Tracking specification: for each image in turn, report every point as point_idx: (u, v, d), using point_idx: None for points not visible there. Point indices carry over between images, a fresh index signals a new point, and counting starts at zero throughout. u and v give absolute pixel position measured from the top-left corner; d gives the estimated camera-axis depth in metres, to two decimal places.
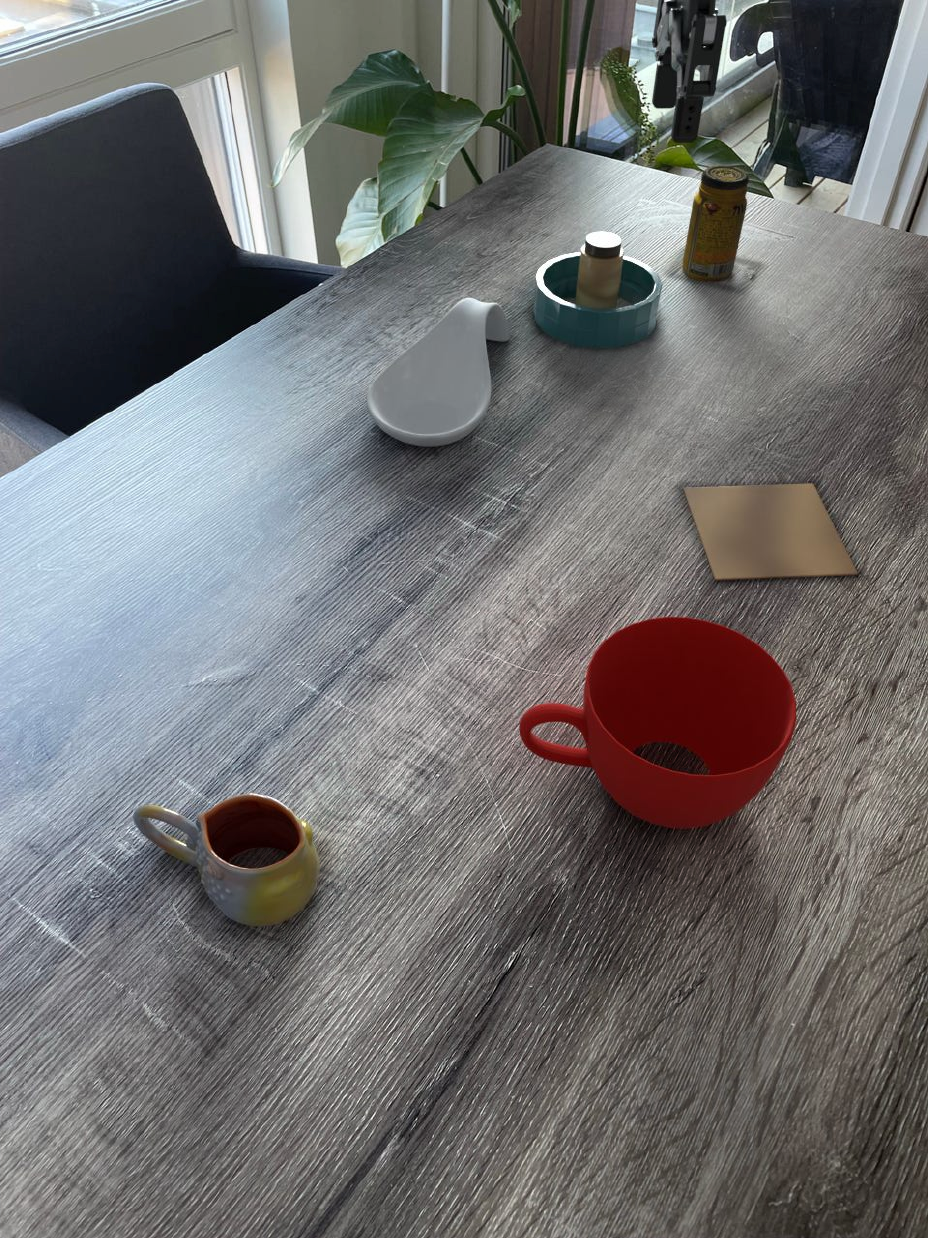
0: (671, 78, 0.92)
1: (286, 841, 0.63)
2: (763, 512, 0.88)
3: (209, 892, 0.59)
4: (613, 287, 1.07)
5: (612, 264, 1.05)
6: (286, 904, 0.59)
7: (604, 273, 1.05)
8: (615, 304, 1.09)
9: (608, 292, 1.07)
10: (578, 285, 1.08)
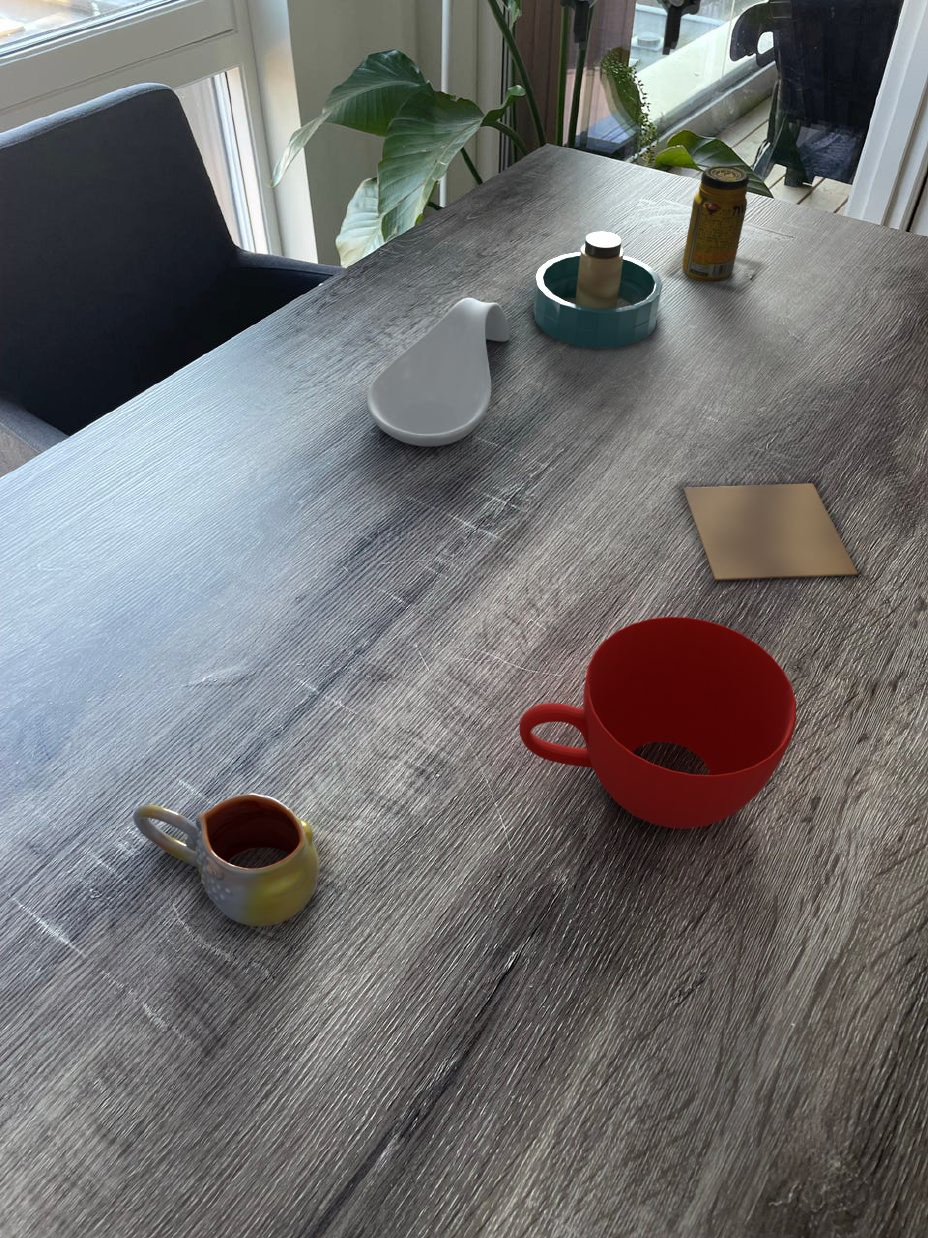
0: (666, 23, 1.01)
1: (286, 841, 0.63)
2: (763, 512, 0.88)
3: (209, 892, 0.59)
4: (613, 287, 1.07)
5: (612, 264, 1.05)
6: (286, 904, 0.59)
7: (604, 273, 1.05)
8: (615, 304, 1.09)
9: (608, 292, 1.07)
10: (578, 285, 1.08)
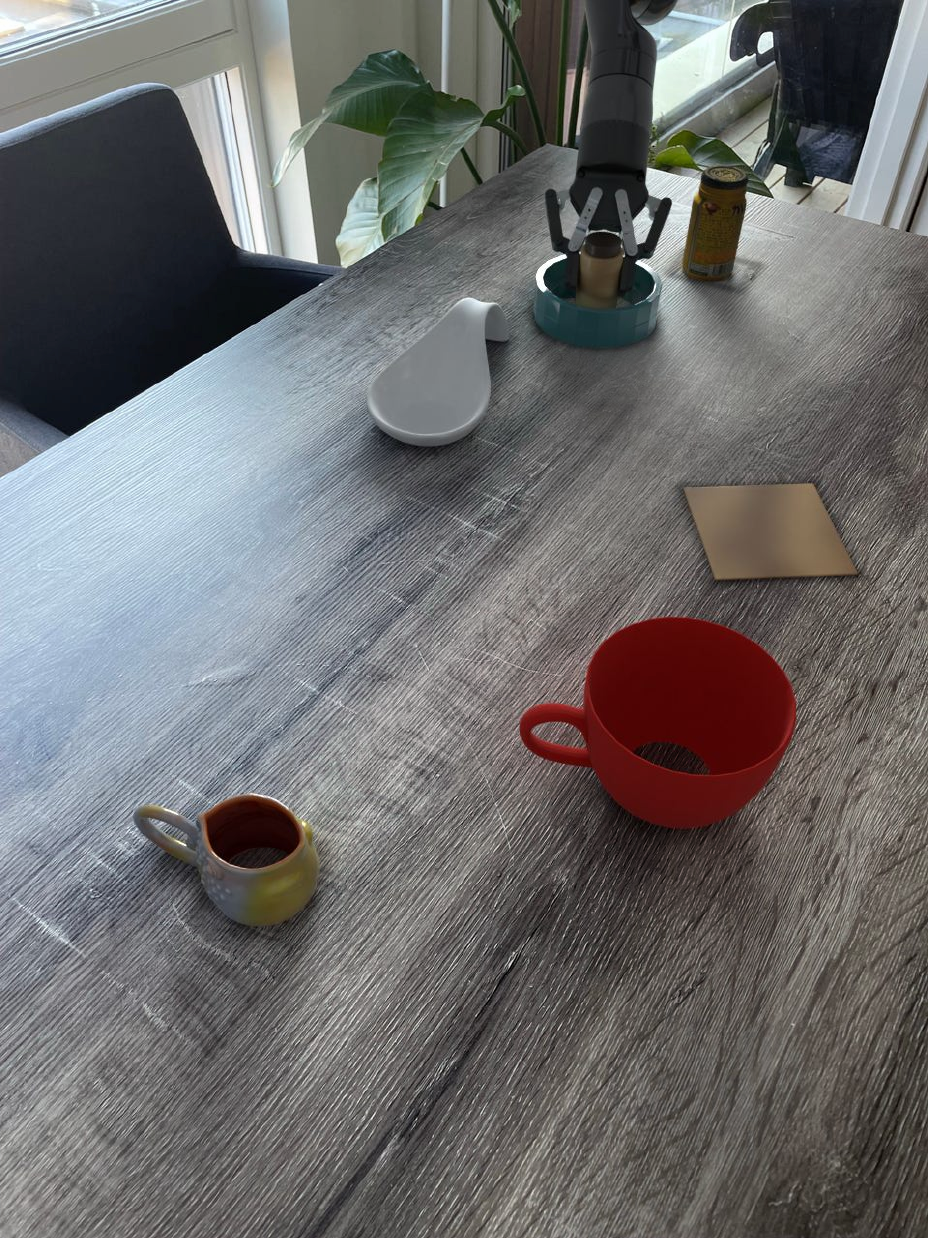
0: None
1: (286, 841, 0.63)
2: (763, 512, 0.88)
3: (209, 892, 0.59)
4: (613, 287, 1.07)
5: (612, 264, 1.05)
6: (286, 904, 0.59)
7: (604, 273, 1.05)
8: (615, 304, 1.09)
9: (608, 292, 1.07)
10: (578, 285, 1.08)
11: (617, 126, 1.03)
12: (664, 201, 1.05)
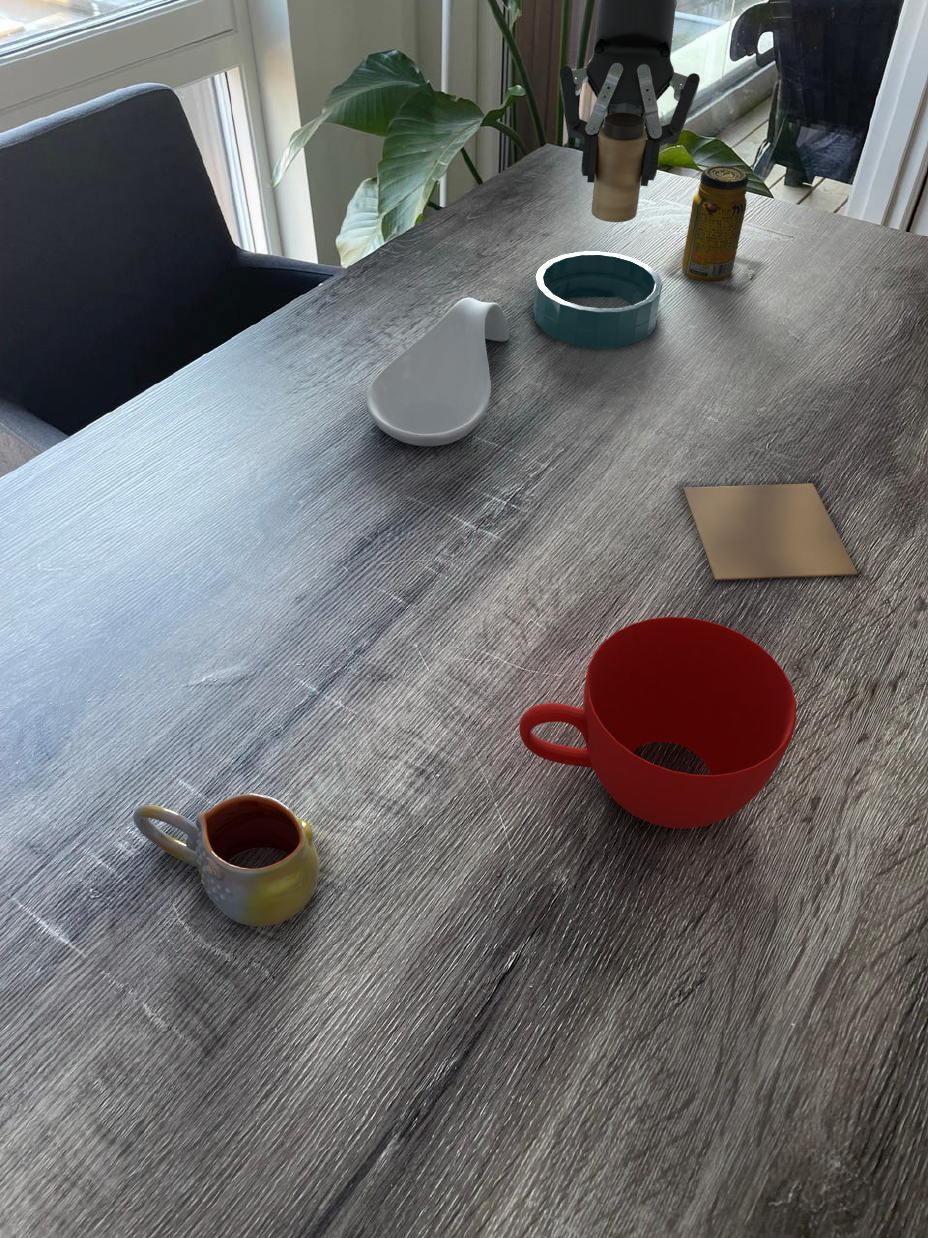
0: (644, 154, 0.97)
1: (286, 841, 0.63)
2: (763, 512, 0.88)
3: (209, 892, 0.59)
4: (635, 175, 0.97)
5: (634, 146, 0.95)
6: (286, 904, 0.59)
7: (625, 158, 0.96)
8: (637, 195, 0.99)
9: (629, 180, 0.97)
10: (596, 174, 0.99)
11: None
12: (691, 77, 0.96)
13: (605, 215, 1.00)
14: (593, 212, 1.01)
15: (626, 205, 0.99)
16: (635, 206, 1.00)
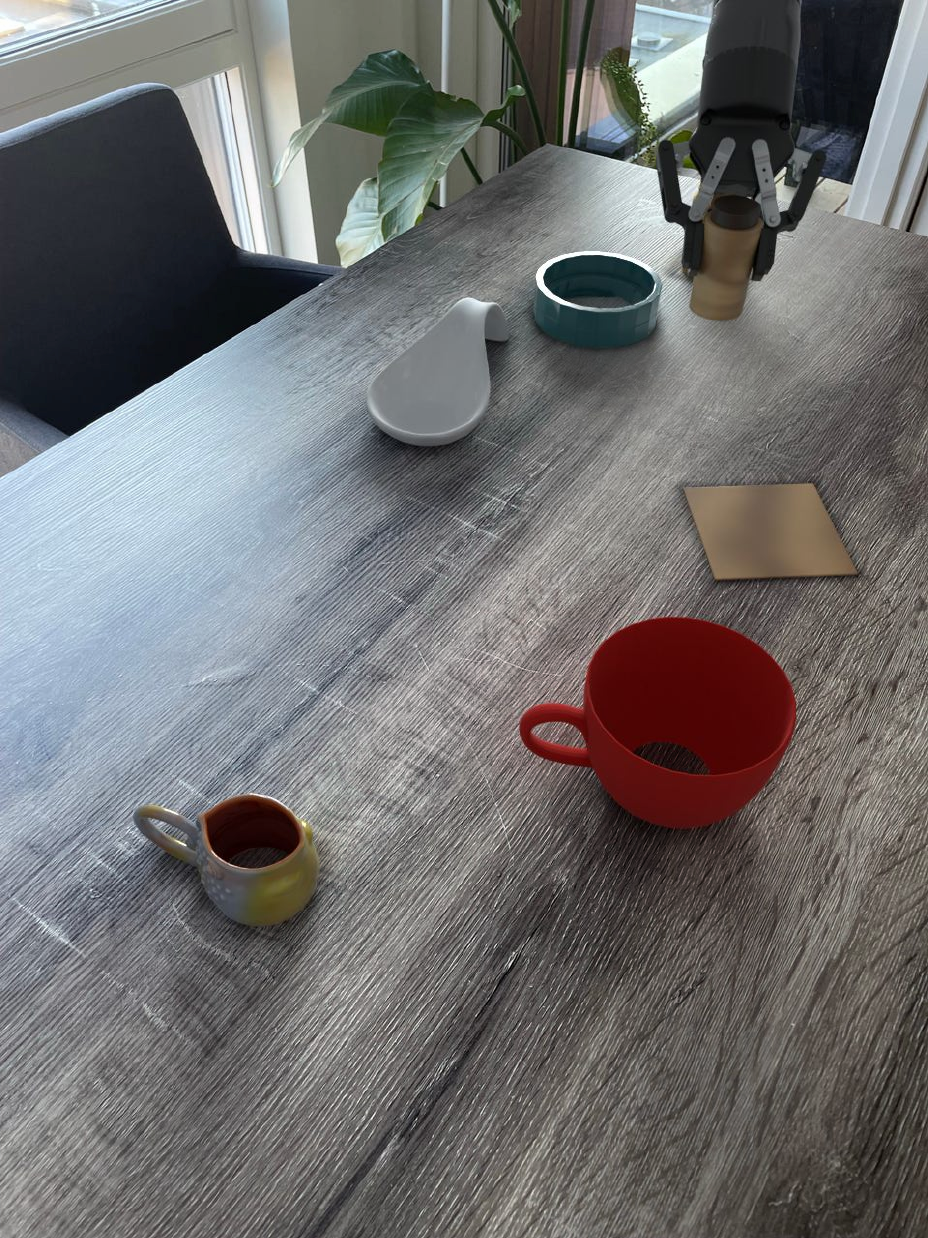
0: None
1: (286, 841, 0.63)
2: (763, 512, 0.88)
3: (209, 892, 0.59)
4: (746, 269, 0.82)
5: (748, 237, 0.80)
6: (285, 904, 0.59)
7: (737, 250, 0.81)
8: (746, 290, 0.84)
9: (740, 274, 0.82)
10: None
11: (758, 55, 0.78)
12: (816, 155, 0.80)
13: (708, 313, 0.85)
14: (692, 308, 0.86)
15: (733, 303, 0.84)
16: (743, 302, 0.85)
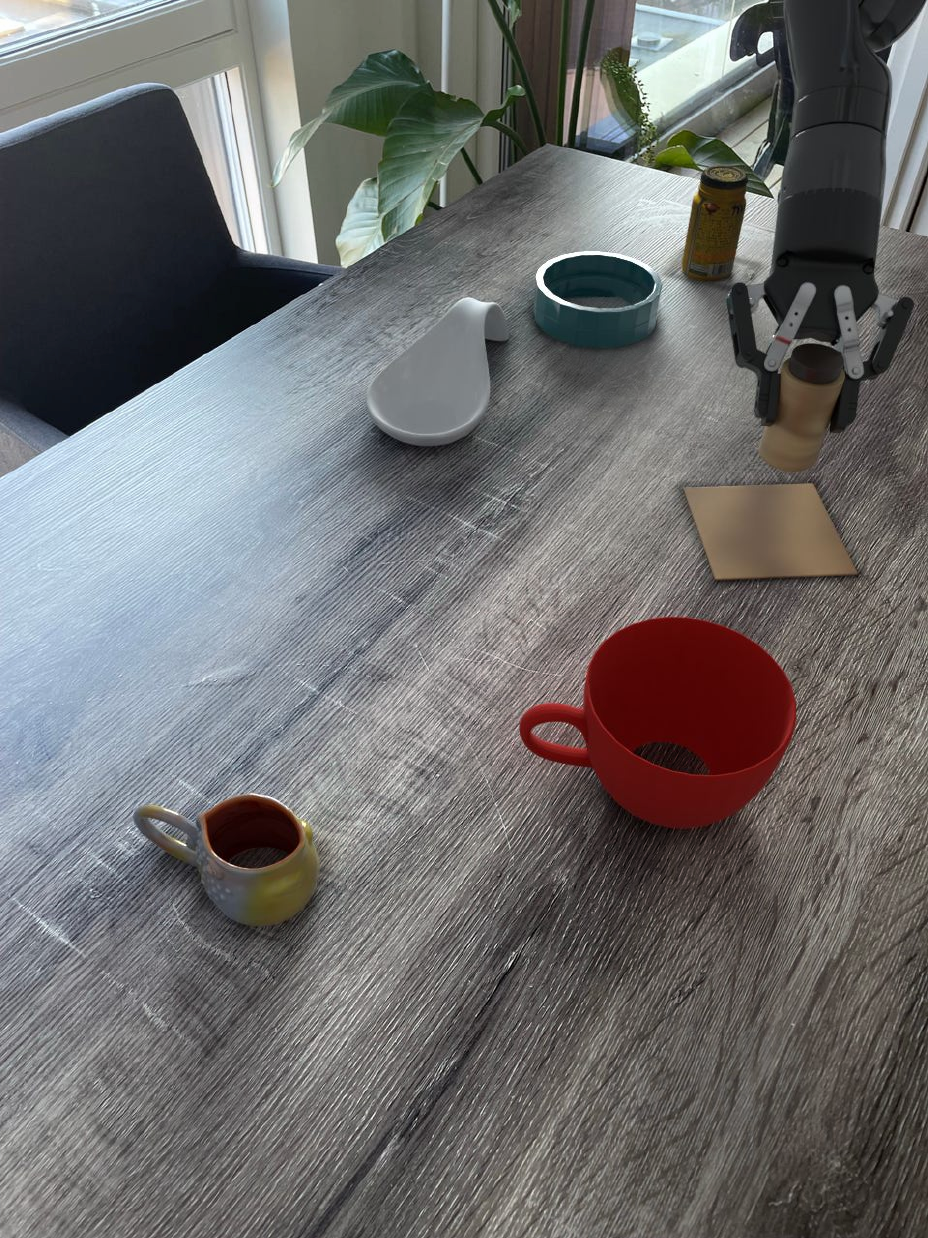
0: None
1: (286, 841, 0.63)
2: (763, 512, 0.88)
3: (209, 892, 0.59)
4: (825, 421, 0.76)
5: (830, 392, 0.74)
6: (286, 904, 0.59)
7: (817, 404, 0.74)
8: (822, 441, 0.78)
9: (818, 427, 0.76)
10: None
11: (843, 198, 0.72)
12: (903, 302, 0.74)
13: (781, 464, 0.79)
14: (763, 456, 0.80)
15: (809, 455, 0.78)
16: (818, 452, 0.79)
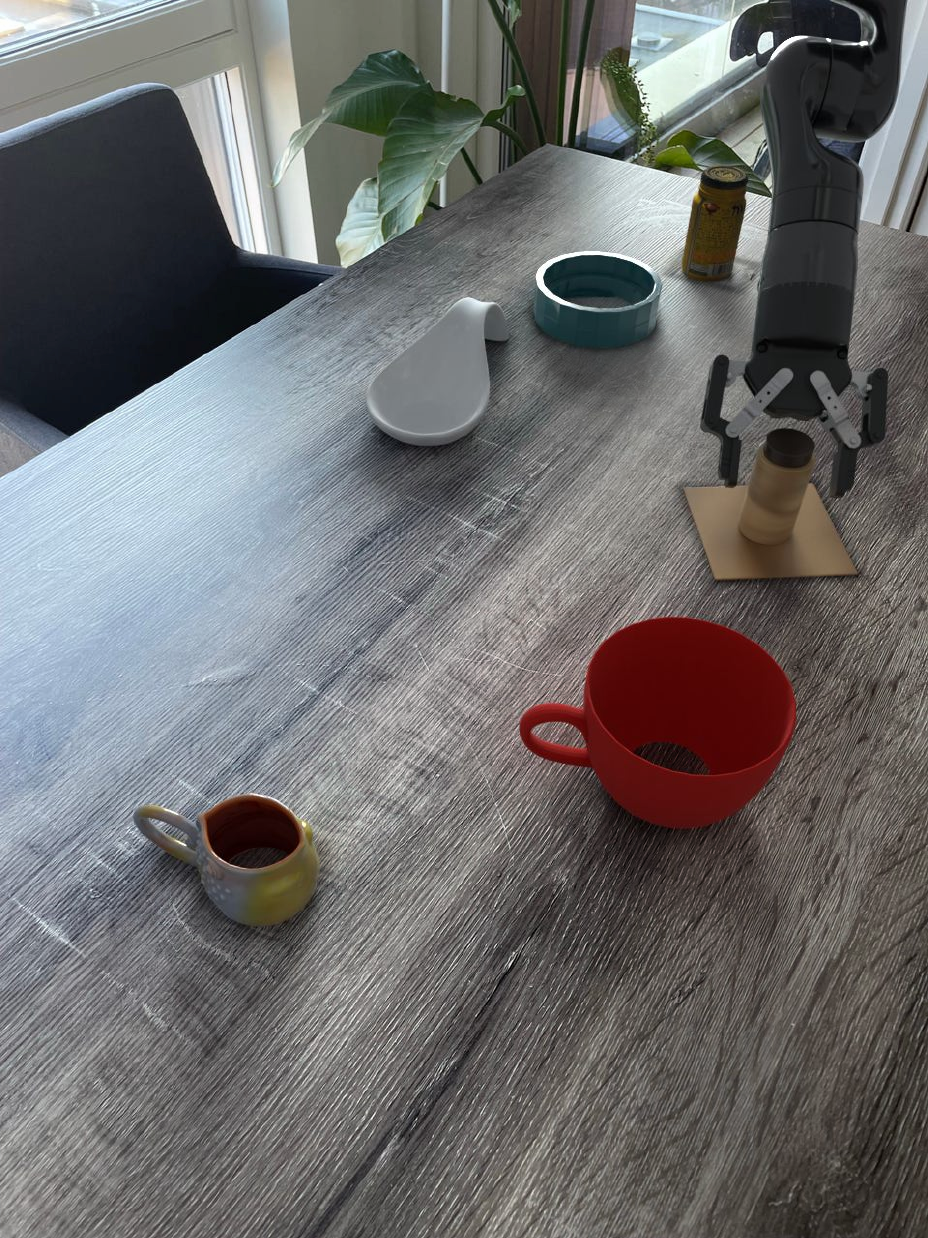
0: (836, 464, 0.81)
1: (286, 841, 0.63)
2: None
3: (209, 892, 0.59)
4: (798, 500, 0.82)
5: (802, 475, 0.79)
6: (285, 904, 0.59)
7: (790, 486, 0.80)
8: (796, 516, 0.84)
9: (792, 506, 0.82)
10: (750, 494, 0.83)
11: (817, 291, 0.77)
12: (877, 374, 0.79)
13: (758, 538, 0.84)
14: (741, 530, 0.85)
15: (784, 529, 0.83)
16: (793, 527, 0.84)
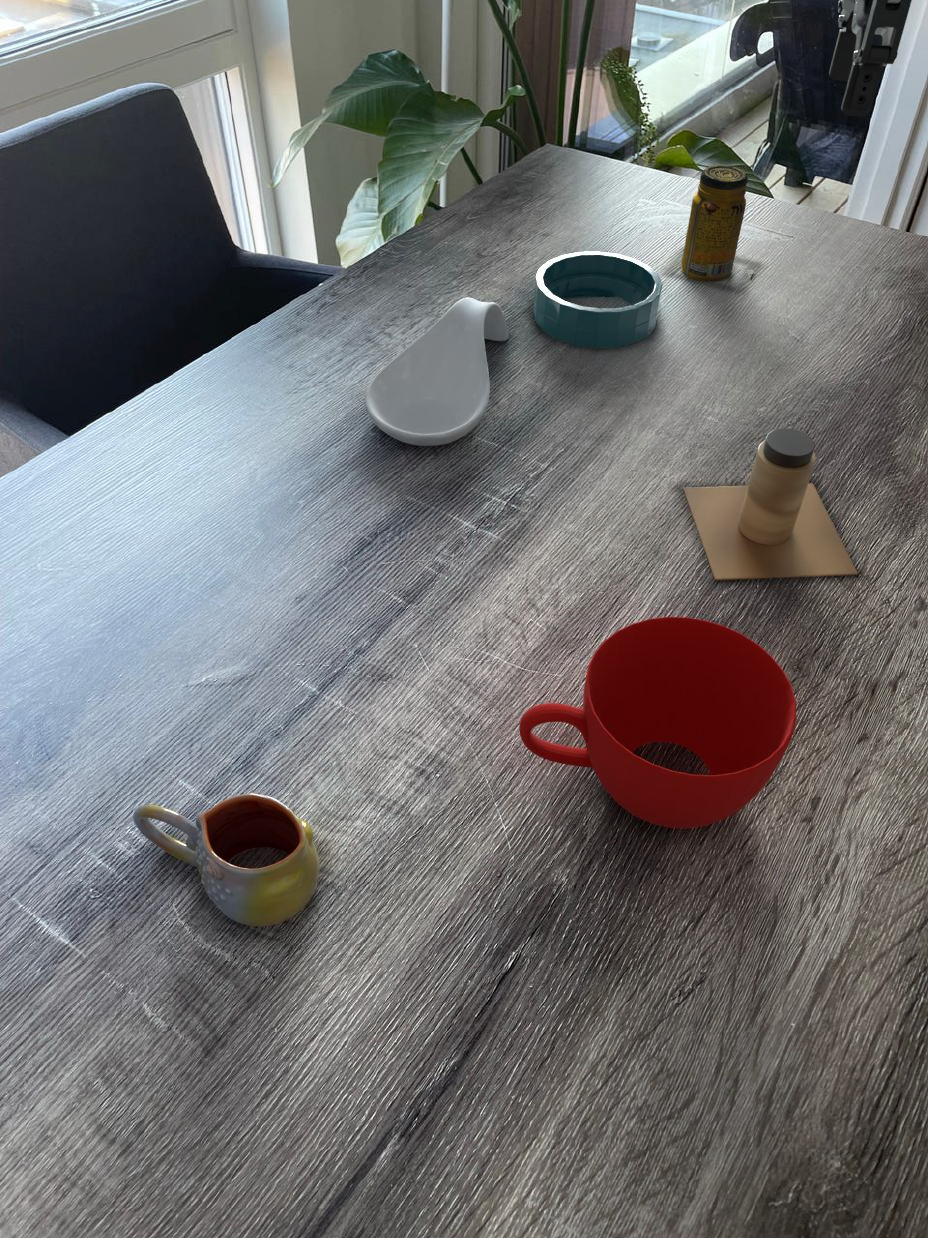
0: (853, 47, 0.84)
1: (286, 841, 0.63)
2: None
3: (209, 892, 0.59)
4: (798, 500, 0.82)
5: (802, 475, 0.79)
6: (286, 904, 0.59)
7: (790, 486, 0.80)
8: (796, 516, 0.84)
9: (792, 506, 0.82)
10: (750, 494, 0.83)
11: None
12: None
13: (758, 538, 0.84)
14: (741, 530, 0.85)
15: (784, 529, 0.83)
16: (793, 527, 0.84)
